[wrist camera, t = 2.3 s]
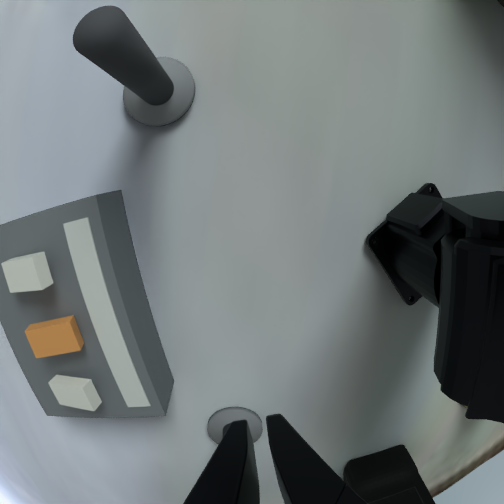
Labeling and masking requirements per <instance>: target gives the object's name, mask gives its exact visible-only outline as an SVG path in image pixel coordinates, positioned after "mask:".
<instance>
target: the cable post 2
mask: <svg viewBox="0 0 504 504" xmlns="http://www.w3.org/2000/svg"><path fill="white" fill-rule="evenodd" d="M243 419H245V420H247V421H248V425H249V428H250V432H251V436H252V439H253V443H254V442H255V441H257V440H258V439H259V438H260V436H261V434H262V430H263V429H262V421H261V419H260V417H259V416H258V415H257V414H256V413H255V412H253V411H251V410H249V409H246V408H242V407H228V408H224V409H221V410H219V411H217V412H215V413H214V414H213V415H212V416H211V417H210V419H209V421H208V434H209V436H210V437H211V439H212V440H213V441H215V442H216V443H218V444H219V443H220V442H221V440H222V438H223V436H224V435H225V433H226V431H227V429H228V428H229V426H230V424H231V422H233V421H236V420H243Z"/></svg>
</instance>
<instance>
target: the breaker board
mask: <svg viewBox="0 0 504 504" xmlns="http://www.w3.org/2000/svg"><path fill="white" fill-rule="evenodd" d="M39 252H45V256H46V259H47V263H48V266H49V270H50V273H51V277H52V280H53V284H52V285H50V286H48V287H46V288H45V289H43V290H37V291H26V292H14V293H10V290H9V287H8V284H7V281H6V278H5V275H4V271H3V268H2V265H1V263H3V262H5V261H7V260H9V259H12V258H15V257H20V256H25V255H29V254H34V253H39ZM71 315H74V317H75V320H76V322H77V325H78V328H79V330H80V333H81V335H82V338H83V341H84V344H83V347H82V349H81V350H80V351H75V352H70V353H64V354H59V355H53V356H48V357H42V358H36V357H35V355H34V353H33V350H32V348H31V346H30V343H29V341H28V339H27V336H26V334H25V332H24V331H25V330H26V329H27V328H28V326H29V325H30V324H35V323H39V322H44V321H49V320H53V319H58V318H62V317H67V316H71ZM0 321H1V324H2V326H3V329H4V331H5V334H6V336H7V338H8V341H9V343H10V345H11V348H12V350H13V352H14V354H15V356H16V358H17V361H18V363H19V365H20V367H21V369H22V371H23V373H24V375H25V377H26V379H27V381H28V383H29V385H30V386H31V388H32V390H33V392H34V394H35V396H36V397H37V399H38V401H39V403H40V404H41V406H42V408H43V410H44V411H45V413H46V415H47V416H61V417H87V418H126V417H153V416H166V412H167V408H168V404H169V400H170V395H171V391H172V387H173V383H174V379H173V376H172V374H171V371H170V368H169V365H168V362H167V359H166V356H165V354H164V351H163V348H162V345H161V342H160V338H159V335H158V332H157V329H156V326H155V323H154V320H153V316H152V313H151V310H150V306H149V303H148V299H147V296H146V293H145V289H144V285H143V282H142V278H141V274H140V271H139V267H138V263H137V259H136V255H135V251H134V247H133V243H132V239H131V235H130V230H129V226H128V222H127V217H126V212H125V208H124V203H123V198H122V193H121V190H118V191H113V192H108V193H103V194H99V195H94V196H91V197H87V198H84V199H80V200H77V201H73V202H70V203H66V204H63V205H60V206H56V207H53V208H50V209H47V210H44V211H40V212H37V213H34V214H31V215H28V216H25V217H22V218H19V219H16V220H13V221H10V222H8V223H5V224H2V225H0ZM56 375H63V376H70V377H77V378H86V379H91V380H92V382H93V385H94V387H95V389H96V391H97V393H98V395H99V397H100V399H101V401H102V403H101V404H100V405H99V406H98V408H97V409H96V410H95V411H90V410H84V409H79V408H74V407H69V406H65V405H60V404H59V402H58V400H57V398H56V397H55V395H54V393H53V391H52V389H51V387H50V385H49V383H48V382H49V381H50V380H51V379H52V378H53V377H55V376H56Z"/></svg>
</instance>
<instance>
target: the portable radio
mask: <svg viewBox="0 0 504 504" xmlns="http://www.w3.org/2000/svg"><path fill="white" fill-rule="evenodd" d="M343 481H344V482H345V483H346V485H348V486H349V487H350V488H351V489H352V490H353V491H354V492H355V493H356V494H358V495H359V496H360V497H361V498H362V499H363V500H364V501H365V502H367V503H368V504H435V502H434V500H433V498H432V496H431V495H430V493H429V491H428V489H427V487H426V486H425V484H424V482H423V480H422V478H421V476H420V475H419V473H418V469H417V467H416V465H415V463H414V461H413V459H412V458H411V456H410V454H409V452H408V451H407V449H406V448H405V446H404V445H398V446H396V447H393V448H390V449H387V450H384V451H381V452H378V453H374V454H371V455H368V456H364V457H361V458H357V459H354V460H351V461H350V462H349V463H348V464H347V466H346V467H345V470H344V480H343Z"/></svg>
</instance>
